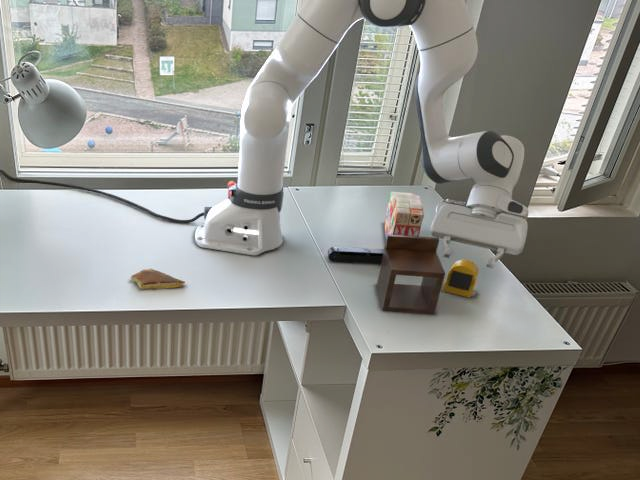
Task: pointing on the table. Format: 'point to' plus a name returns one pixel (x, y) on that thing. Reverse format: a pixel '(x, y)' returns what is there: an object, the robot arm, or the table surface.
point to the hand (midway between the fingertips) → (467, 262)
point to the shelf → (410, 274)
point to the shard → (155, 280)
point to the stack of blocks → (404, 214)
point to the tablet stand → (355, 255)
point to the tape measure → (462, 278)
